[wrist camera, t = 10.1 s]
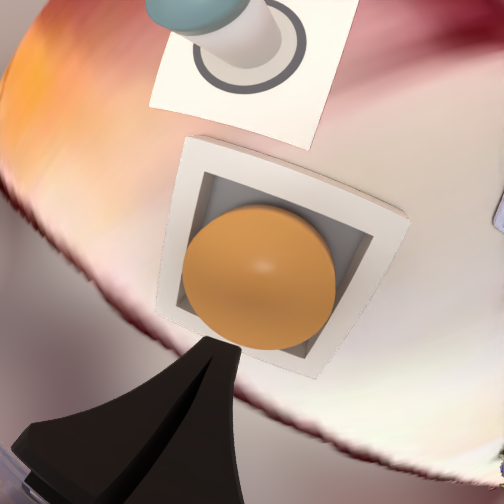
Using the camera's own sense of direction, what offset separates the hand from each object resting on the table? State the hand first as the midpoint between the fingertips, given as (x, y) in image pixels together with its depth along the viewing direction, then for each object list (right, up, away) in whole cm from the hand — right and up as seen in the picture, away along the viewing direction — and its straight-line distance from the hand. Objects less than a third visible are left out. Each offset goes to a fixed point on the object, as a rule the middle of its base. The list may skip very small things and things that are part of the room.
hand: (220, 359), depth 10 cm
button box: (+2, +3, +7) cm, 8 cm away
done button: (+2, +3, +6) cm, 7 cm away
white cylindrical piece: (+1, +15, +2) cm, 15 cm away
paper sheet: (+1, +15, +2) cm, 16 cm away
